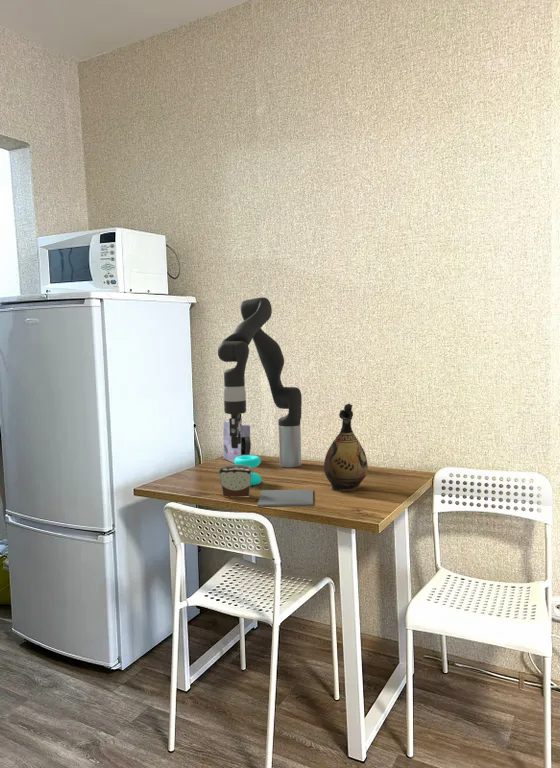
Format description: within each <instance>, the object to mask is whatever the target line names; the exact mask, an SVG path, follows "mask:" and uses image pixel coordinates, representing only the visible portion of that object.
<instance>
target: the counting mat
mask: <svg viewBox="0 0 560 768" xmlns="http://www.w3.org/2000/svg"><path fill="white" fill-rule="evenodd" d="M301 506H303V507H307V506H311V507H312V506H314V490H313V489H275V490H274V489H273V490H272V489H271V490H270V489H265V490H263V489H262V490H261V492H260V495H259V498H258V501H257V507H301Z"/></svg>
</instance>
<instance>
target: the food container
mask: <svg viewBox="0 0 560 768" xmlns="http://www.w3.org/2000/svg"><path fill="white" fill-rule="evenodd" d="M251 473H252V475H253V473H254V471H253V468H251V467H250V466H246V465H235V464H229V465H224V466H220V467H219V468H218V470H217V475H219V478H220V484H221V485H220V486H221V493H222V497H223V496H250V495H251V487H252V486H251Z"/></svg>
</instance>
